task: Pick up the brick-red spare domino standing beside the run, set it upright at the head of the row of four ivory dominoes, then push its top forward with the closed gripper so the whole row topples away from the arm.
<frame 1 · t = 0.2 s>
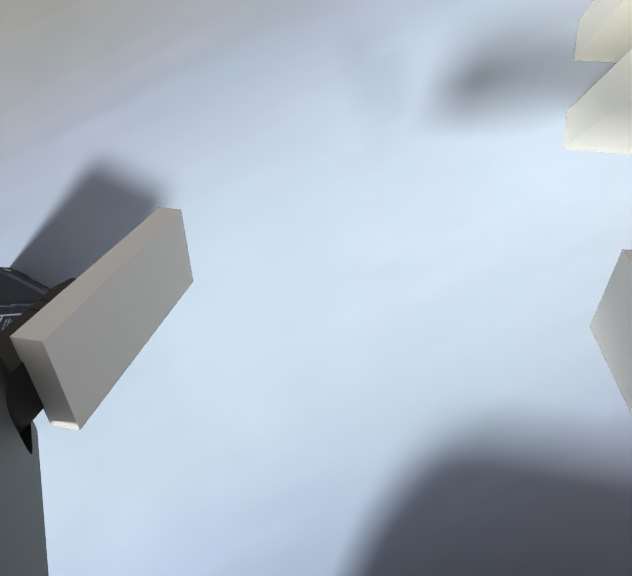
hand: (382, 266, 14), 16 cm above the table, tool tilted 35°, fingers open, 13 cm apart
domino 2: (608, 132, 28), on the table
small box: (15, 347, 33), on the table
domino 3: (619, 43, 28), on the table
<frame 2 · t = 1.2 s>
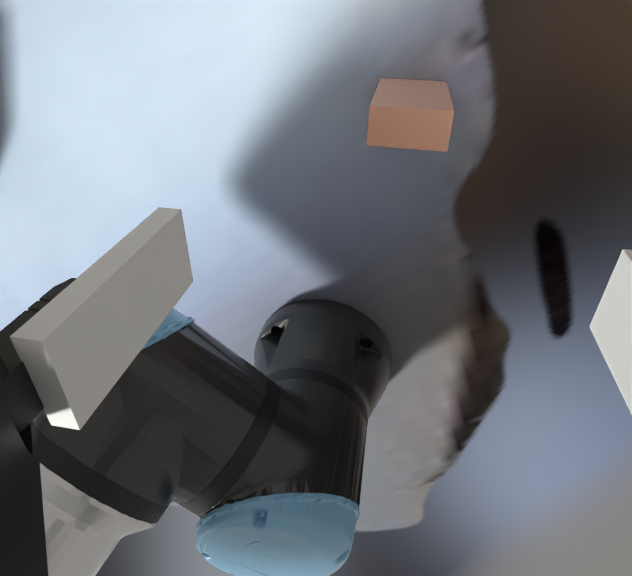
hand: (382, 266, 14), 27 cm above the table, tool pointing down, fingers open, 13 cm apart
spare domino: (411, 96, 36), on the table
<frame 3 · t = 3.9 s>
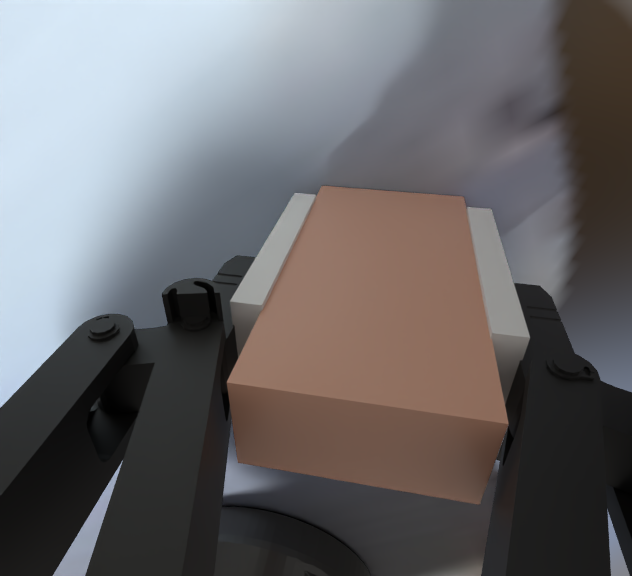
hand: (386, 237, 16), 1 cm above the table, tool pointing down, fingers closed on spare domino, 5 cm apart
spare domino: (388, 221, 17), on the table, touching gripper
when the fingers open (2 cm above the table, at t = 8.3 s): spare domino stays where it is, on the table.
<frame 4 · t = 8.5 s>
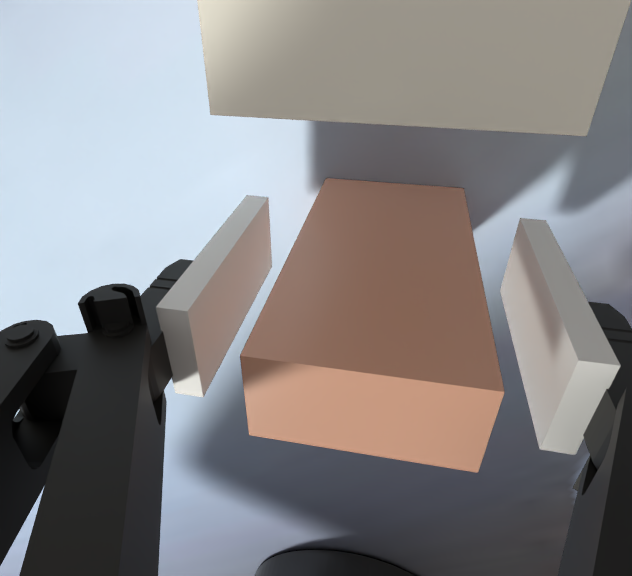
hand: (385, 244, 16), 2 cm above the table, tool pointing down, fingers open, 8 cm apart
spare domino: (390, 213, 18), on the table
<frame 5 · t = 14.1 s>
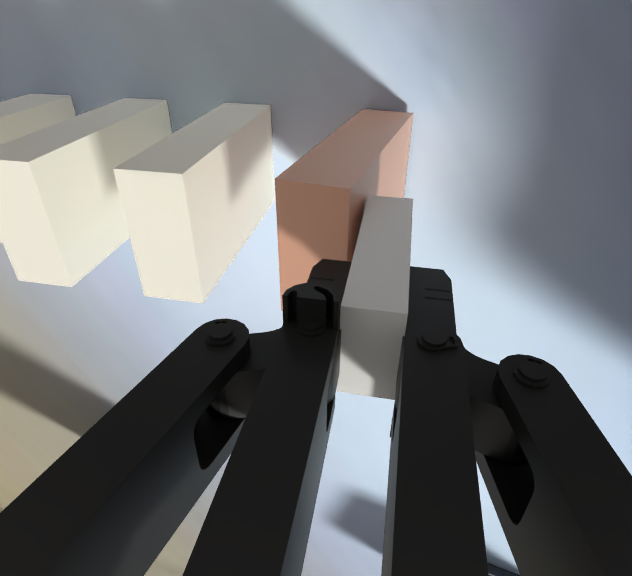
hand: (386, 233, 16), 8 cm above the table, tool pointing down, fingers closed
domino 4: (64, 141, 26), on the table
spare domino: (383, 163, 23), on the table, tilted 9°, touching gripper
domino 2: (250, 153, 24), on the table
domino 3: (154, 147, 25), on the table
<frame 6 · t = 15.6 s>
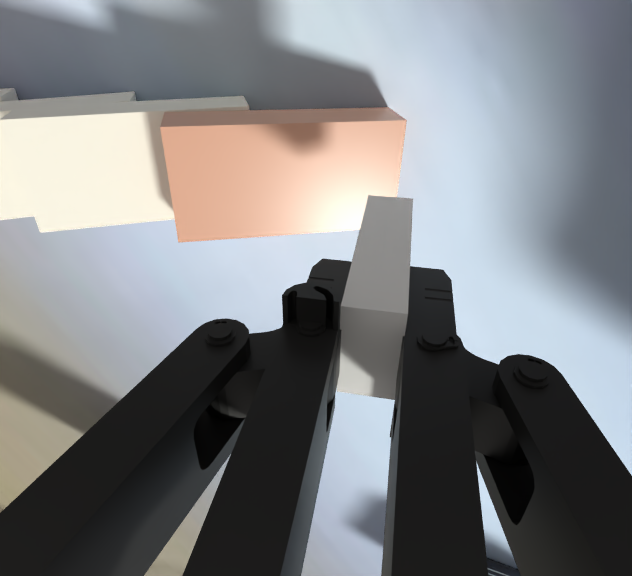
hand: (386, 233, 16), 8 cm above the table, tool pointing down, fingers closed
spare domino: (390, 168, 22), point 1 cm above the table, tilted 68°, touching domino 2
domino 2: (250, 154, 23), point 1 cm above the table, tilted 66°, touching domino 3, spare domino
domino 3: (144, 147, 24), point 1 cm above the table, tilted 66°, touching domino 2
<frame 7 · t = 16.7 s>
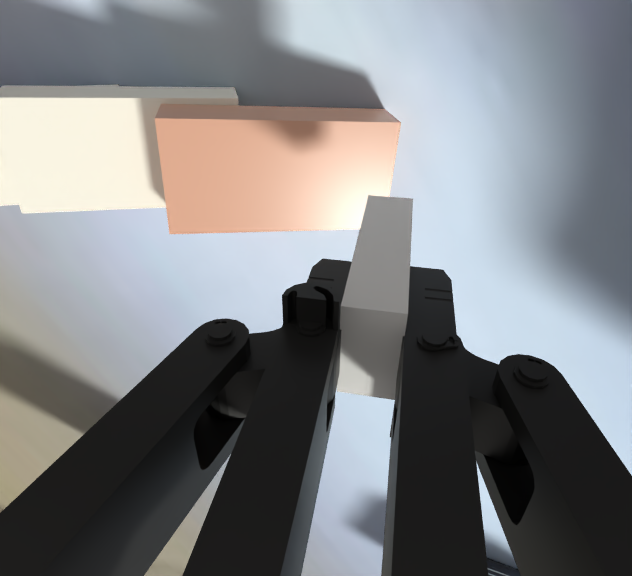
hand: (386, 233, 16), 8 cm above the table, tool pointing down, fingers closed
spare domino: (384, 169, 22), point 1 cm above the table, tilted 69°, touching domino 2
domino 2: (238, 146, 23), point 1 cm above the table, tilted 67°, touching domino 3, spare domino
domino 3: (127, 141, 24), point 1 cm above the table, tilted 67°, touching domino 2, domino 4
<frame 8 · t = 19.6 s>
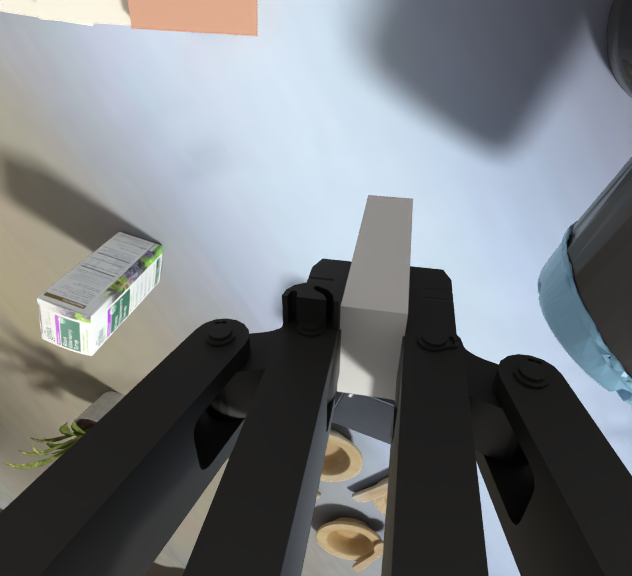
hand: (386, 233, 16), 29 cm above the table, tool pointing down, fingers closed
house plant: (111, 396, 73), on the table
tableware set: (338, 487, 76), on the table
syrup box: (140, 255, 57), on the table
small box: (385, 356, 58), on the table
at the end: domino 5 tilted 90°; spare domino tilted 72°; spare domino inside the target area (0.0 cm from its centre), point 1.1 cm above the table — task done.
